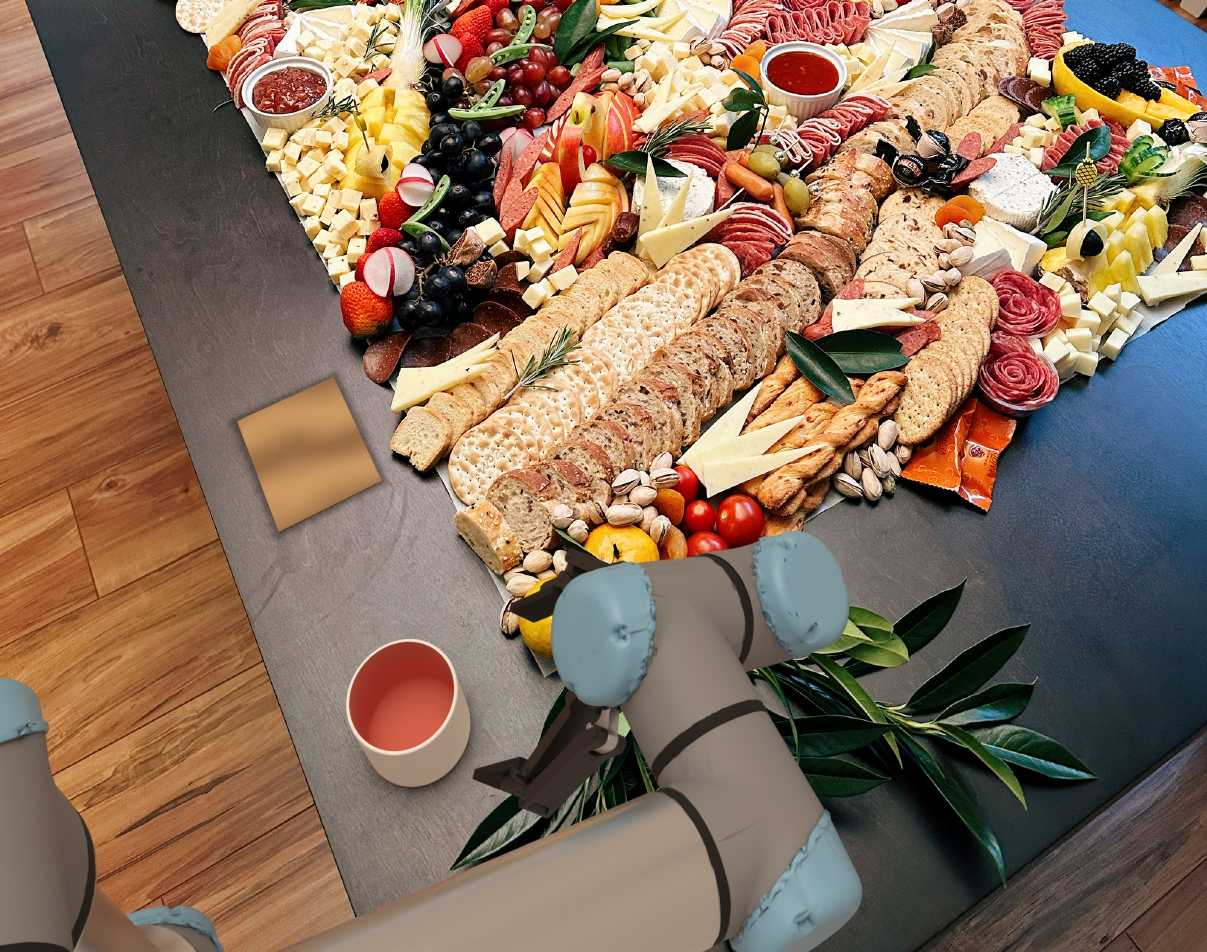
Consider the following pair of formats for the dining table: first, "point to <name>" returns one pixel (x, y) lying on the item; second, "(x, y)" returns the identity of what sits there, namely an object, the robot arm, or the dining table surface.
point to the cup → (409, 712)
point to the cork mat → (307, 453)
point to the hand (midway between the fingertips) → (505, 692)
